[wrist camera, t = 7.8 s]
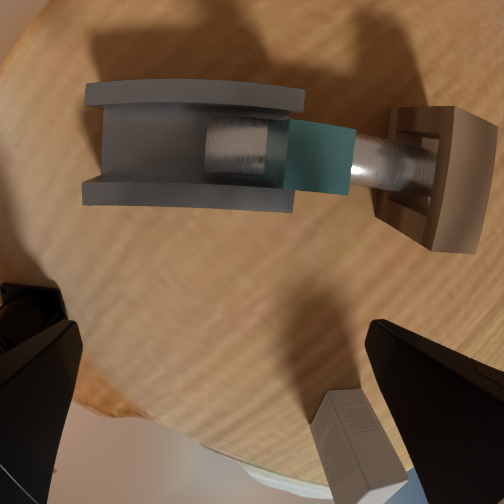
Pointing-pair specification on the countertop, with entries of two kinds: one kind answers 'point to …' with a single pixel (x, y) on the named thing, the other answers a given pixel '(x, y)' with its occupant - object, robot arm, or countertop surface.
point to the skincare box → (355, 450)
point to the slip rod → (316, 156)
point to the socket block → (443, 178)
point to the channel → (180, 143)
